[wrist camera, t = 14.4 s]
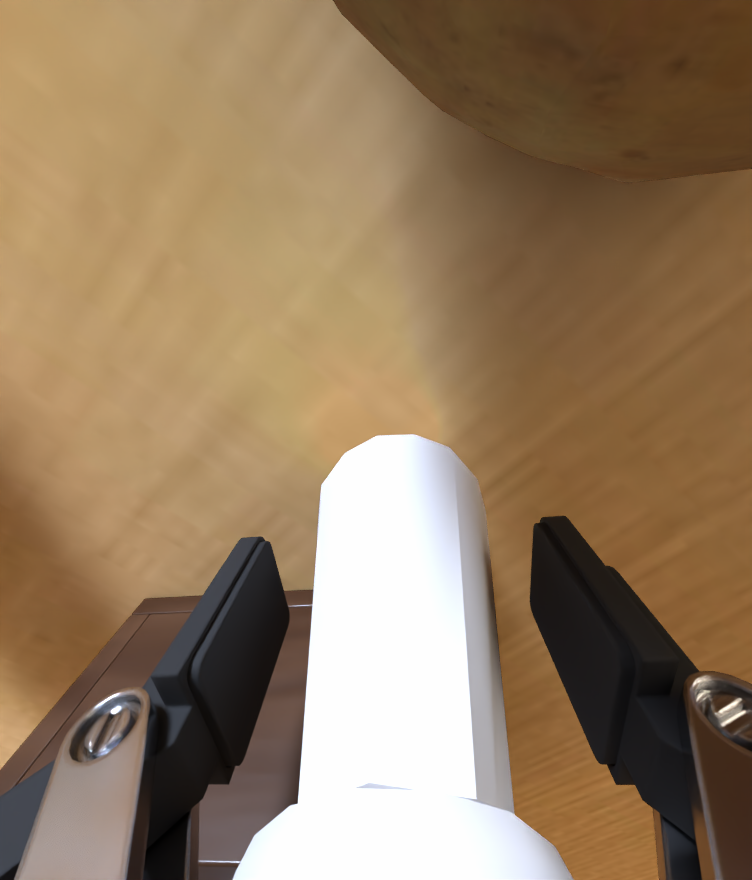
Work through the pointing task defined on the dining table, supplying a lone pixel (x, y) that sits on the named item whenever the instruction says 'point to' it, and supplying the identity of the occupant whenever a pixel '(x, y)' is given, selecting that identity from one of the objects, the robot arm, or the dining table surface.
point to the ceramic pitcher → (583, 77)
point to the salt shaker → (402, 688)
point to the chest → (270, 749)
